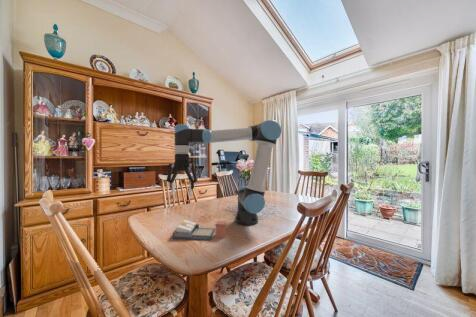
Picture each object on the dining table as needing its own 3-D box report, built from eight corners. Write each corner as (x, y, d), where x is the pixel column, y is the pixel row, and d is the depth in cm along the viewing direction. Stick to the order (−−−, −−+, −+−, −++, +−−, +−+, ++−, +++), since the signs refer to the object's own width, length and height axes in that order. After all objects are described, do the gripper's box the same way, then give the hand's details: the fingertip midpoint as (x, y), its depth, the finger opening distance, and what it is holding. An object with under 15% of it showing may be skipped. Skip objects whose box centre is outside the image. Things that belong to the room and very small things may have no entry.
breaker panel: (215, 230, 115) (215, 224, 115) (210, 240, 102) (210, 234, 102) (181, 229, 116) (181, 223, 116) (172, 238, 103) (172, 232, 103)
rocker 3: (195, 227, 115) (196, 223, 115) (193, 229, 112) (194, 224, 112) (183, 224, 115) (184, 219, 115) (181, 225, 112) (182, 221, 112)
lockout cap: (226, 234, 110) (226, 221, 110) (224, 237, 105) (225, 224, 105) (217, 233, 110) (217, 220, 110) (215, 237, 105) (215, 224, 105)
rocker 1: (190, 232, 107) (191, 228, 107) (189, 235, 104) (190, 230, 104) (178, 229, 107) (179, 224, 107) (176, 231, 104) (177, 226, 104)
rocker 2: (193, 230, 111) (194, 225, 111) (191, 232, 108) (192, 227, 108) (180, 226, 111) (182, 221, 111) (179, 228, 108) (180, 223, 108)
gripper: (203, 153, 111) (203, 193, 112) (165, 153, 113) (165, 193, 114) (199, 153, 104) (199, 196, 105) (159, 153, 105) (159, 195, 106)
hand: (182, 194), depth 109 cm, fingers open, 9 cm apart
